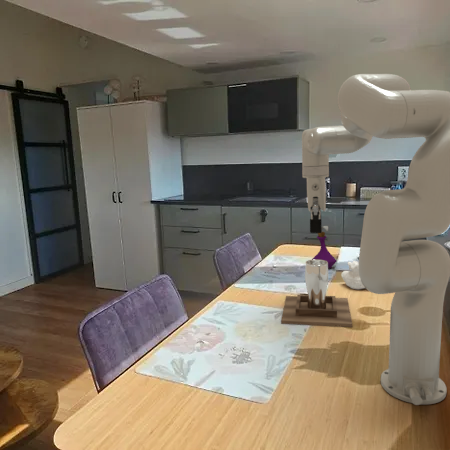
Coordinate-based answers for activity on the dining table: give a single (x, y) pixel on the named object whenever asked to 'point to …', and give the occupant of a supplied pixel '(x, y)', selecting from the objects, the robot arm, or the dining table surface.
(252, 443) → the dining table surface
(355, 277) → the bust
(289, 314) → the walnut stand
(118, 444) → the dining table surface
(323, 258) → the perfume bottle
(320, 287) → the white piece
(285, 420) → the dining table surface
